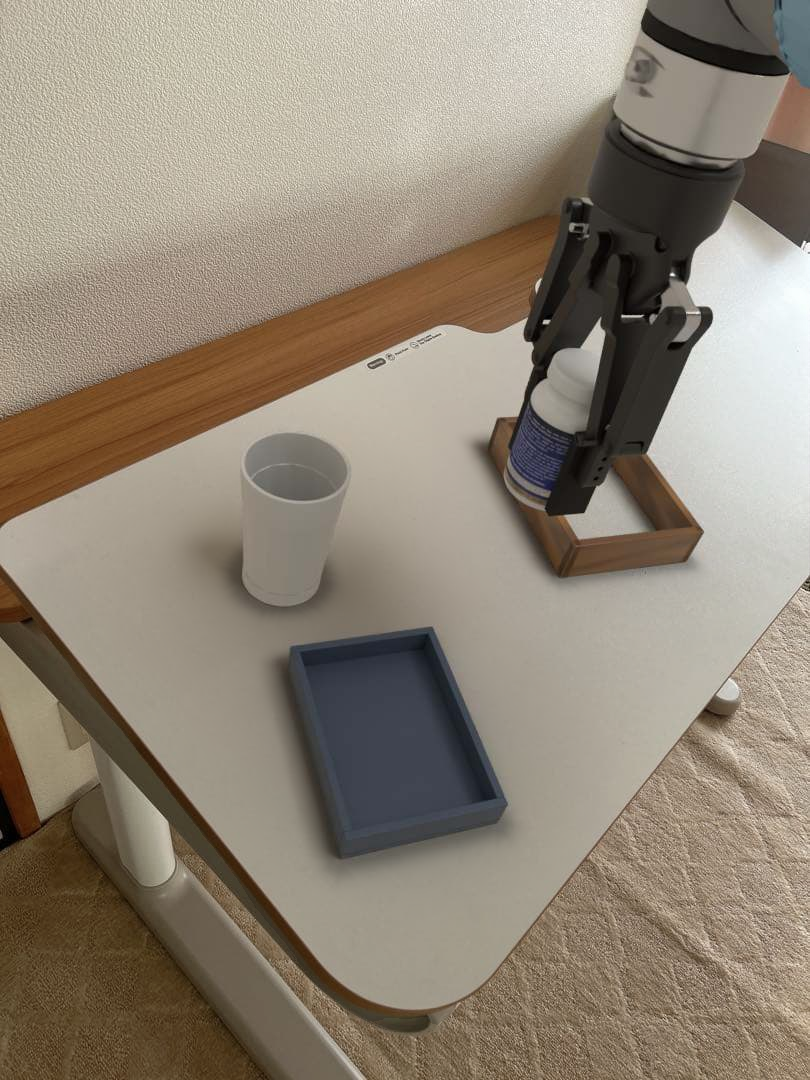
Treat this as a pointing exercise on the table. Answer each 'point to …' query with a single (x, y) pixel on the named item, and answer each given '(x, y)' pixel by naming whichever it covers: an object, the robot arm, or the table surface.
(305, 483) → the cup
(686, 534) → the wooden frame
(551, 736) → the table surface
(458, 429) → the table surface
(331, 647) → the tray
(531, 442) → the pill bottle
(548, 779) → the table surface
